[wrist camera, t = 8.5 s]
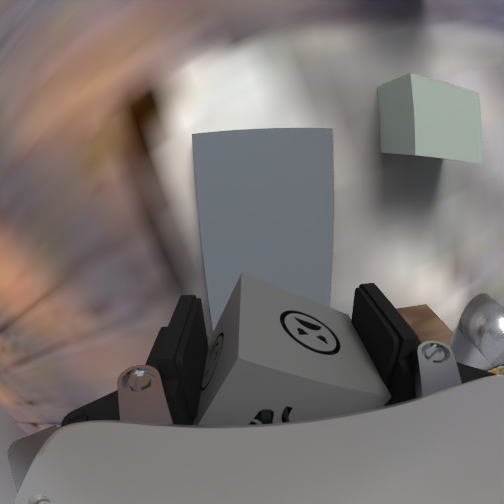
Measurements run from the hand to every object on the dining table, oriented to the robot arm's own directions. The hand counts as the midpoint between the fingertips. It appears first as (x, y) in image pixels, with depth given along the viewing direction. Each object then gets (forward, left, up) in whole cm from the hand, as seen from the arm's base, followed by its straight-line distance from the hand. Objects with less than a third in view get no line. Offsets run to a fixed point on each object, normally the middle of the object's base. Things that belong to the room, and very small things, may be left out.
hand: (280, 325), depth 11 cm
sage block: (-12, -9, -10) cm, 18 cm away
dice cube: (0, +1, -1) cm, 2 cm away
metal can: (-23, +9, -10) cm, 26 cm away
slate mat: (0, 0, -10) cm, 10 cm away
